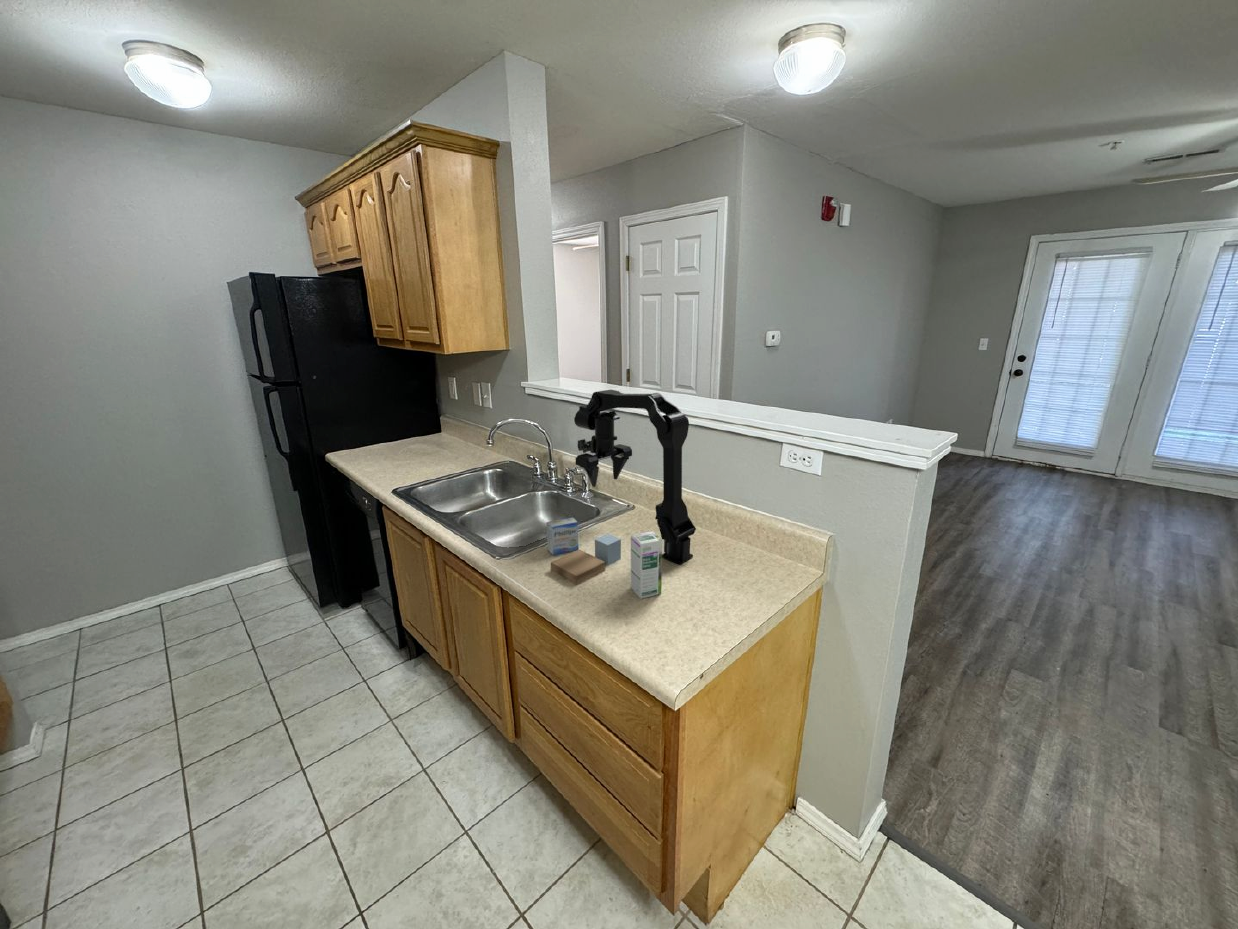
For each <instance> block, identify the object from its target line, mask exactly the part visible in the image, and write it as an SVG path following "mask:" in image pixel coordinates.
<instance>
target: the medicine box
mask: <svg viewBox="0 0 1238 929" xmlns="http://www.w3.org/2000/svg"><path fill="white" fill-rule="evenodd" d="M546 536H547V540H546V541H547V550H548V552H550V553H551V555H553V556H558V555H561V554H565V553H570V552H575V551H577V550H579V522H578V521H577V520H576V519H575V518H574V517H573V516H572V517H566V518H560V519H556V520H552V521H546Z"/></svg>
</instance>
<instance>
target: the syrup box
mask: <svg viewBox="0 0 1238 929" xmlns="http://www.w3.org/2000/svg"><path fill="white" fill-rule="evenodd" d="M662 554H663V539H662V537H661V536H659V535H658V534H657V533H655V532H654V531H653V530H651V531H648V532H641V533H637V534H631V535H630V588H631V590H632V591H633V592H634V594H635V595H636V596H637V597H638V598H639V599H641V600H642V599H645V598H648V597H652V596H657V595H661V594H662V584H663V583H662V581H663V580H662V579H663V578H662V573H663V572H662V571H663V569H662V568H663V557H662Z"/></svg>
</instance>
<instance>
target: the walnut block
mask: <svg viewBox="0 0 1238 929" xmlns="http://www.w3.org/2000/svg"><path fill="white" fill-rule="evenodd" d="M605 571H606V564H605V562H604V561H602V560H600V559H598V558H596V557H595V555H591V554H590V553H587V552H586V551H583V550H582V549H578V550H574V551H572V552H571V553H570V552H569V553H568V554H566V555H564V556H562V557H559V558H556V559H555V560H552V561H550V572H552V573H554V574H556V575H557V576H559V577H561V578H563V579H565V580H566V581H569V583H572V584H573V585H575V586H578V585H580V584H581V583H583V582H586V581H588V580H589V579H591V578H594V577H595V576H598V575H599V574H601V573H603V572H605Z"/></svg>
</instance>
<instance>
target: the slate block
mask: <svg viewBox="0 0 1238 929" xmlns="http://www.w3.org/2000/svg"><path fill="white" fill-rule="evenodd" d="M594 557H596V558H598V559H600V560H602V561H604V562H605V566H610V565H612V564H614V563H615V562H617V561H620V560H621V559H622V539H621V538H619V537H617V536H614V535H612V534H610V533H606V534H604V535H601V536H599V537H597V538H594Z"/></svg>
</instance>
